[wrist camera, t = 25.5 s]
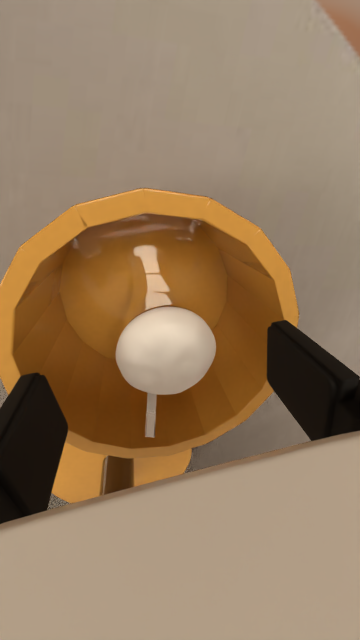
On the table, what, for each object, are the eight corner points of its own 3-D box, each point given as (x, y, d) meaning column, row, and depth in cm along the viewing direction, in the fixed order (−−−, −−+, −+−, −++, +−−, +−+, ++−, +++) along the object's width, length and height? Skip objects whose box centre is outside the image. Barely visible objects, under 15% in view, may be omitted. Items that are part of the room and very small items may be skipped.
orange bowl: (197, 154, 16) (258, 116, 8) (253, 328, 22) (316, 394, 15) (3, 247, 16) (-105, 291, 9) (113, 392, 23) (104, 490, 15)
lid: (153, 370, 22) (159, 420, 17) (208, 461, 29) (225, 516, 24) (4, 438, 23) (-33, 507, 18) (93, 513, 29) (85, 578, 24)
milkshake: (111, 323, 19) (95, 430, 10) (131, 254, 17) (133, 315, 8) (167, 337, 21) (196, 443, 12) (192, 275, 19) (248, 345, 10)
